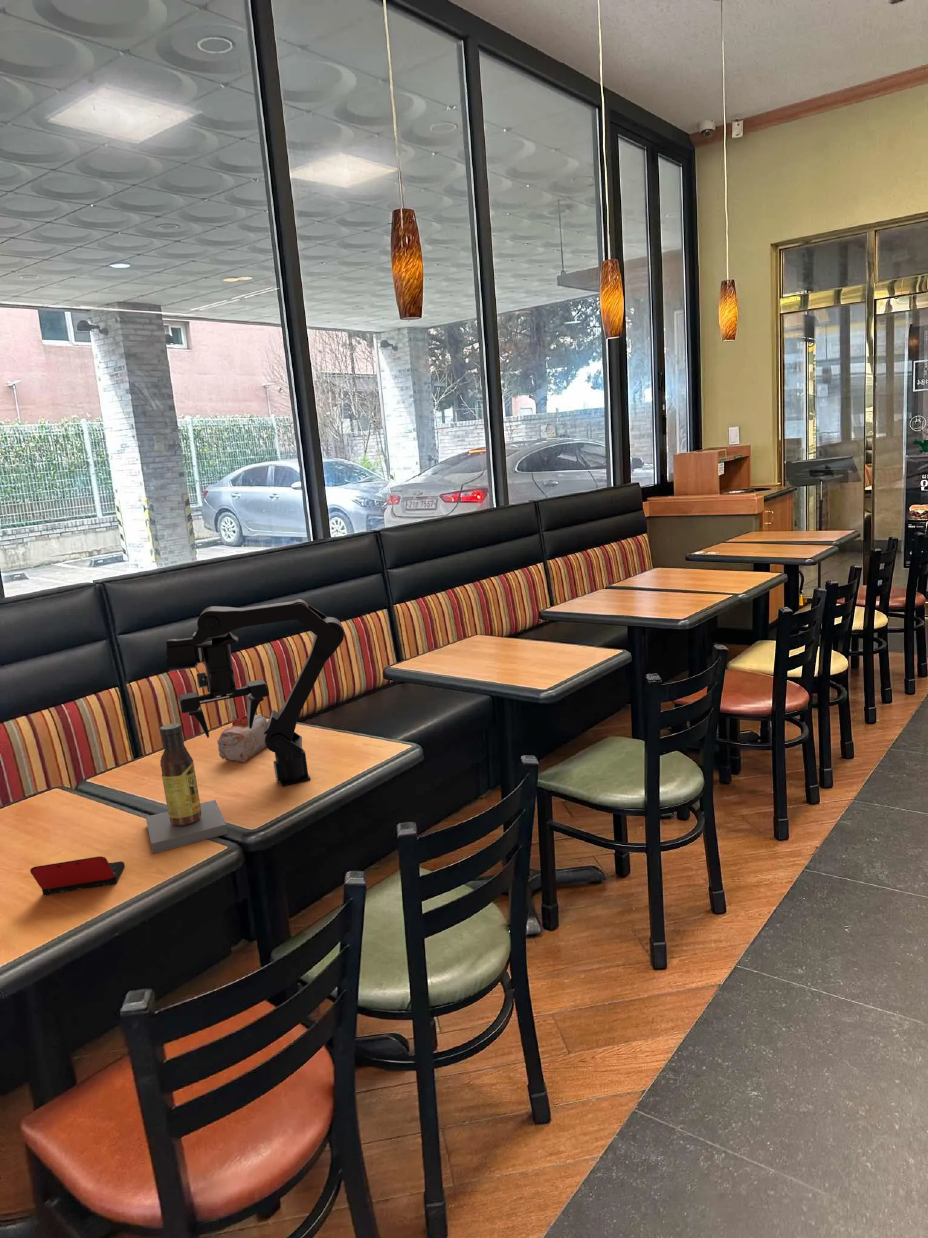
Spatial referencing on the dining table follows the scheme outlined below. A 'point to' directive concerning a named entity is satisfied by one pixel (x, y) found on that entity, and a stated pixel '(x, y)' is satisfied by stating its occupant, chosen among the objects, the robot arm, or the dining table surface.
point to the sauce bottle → (179, 778)
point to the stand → (185, 828)
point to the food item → (242, 739)
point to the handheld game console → (77, 874)
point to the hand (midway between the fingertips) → (229, 732)
